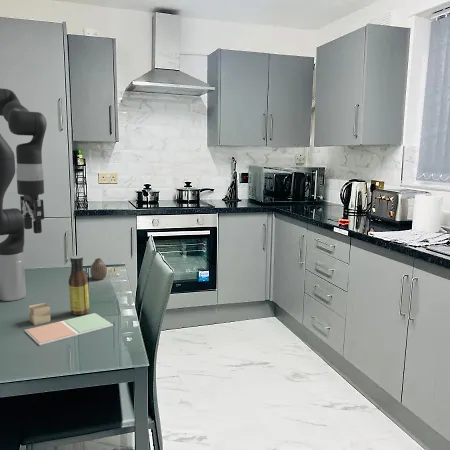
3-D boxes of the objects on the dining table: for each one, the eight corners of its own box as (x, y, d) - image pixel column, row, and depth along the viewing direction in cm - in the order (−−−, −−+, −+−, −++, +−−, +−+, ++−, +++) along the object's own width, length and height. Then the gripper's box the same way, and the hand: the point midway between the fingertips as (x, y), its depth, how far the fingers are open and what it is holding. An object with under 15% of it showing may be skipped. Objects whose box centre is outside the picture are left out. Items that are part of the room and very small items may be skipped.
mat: (24, 331, 137) (24, 329, 137) (95, 314, 152) (95, 312, 152) (39, 345, 128) (39, 343, 127) (113, 326, 143) (113, 324, 143)
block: (29, 320, 146) (28, 305, 145) (44, 317, 149) (44, 302, 148) (34, 325, 142) (34, 310, 141) (50, 321, 145) (49, 306, 144)
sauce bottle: (82, 307, 158) (81, 253, 154) (93, 312, 154) (91, 256, 150) (66, 312, 153) (63, 256, 149) (76, 317, 149) (74, 259, 145)
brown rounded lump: (90, 276, 195) (89, 257, 193) (106, 275, 197) (106, 256, 195) (90, 281, 188) (90, 261, 187) (107, 280, 190) (107, 260, 189)
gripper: (51, 180, 133) (53, 233, 136) (35, 176, 144) (37, 226, 147) (25, 180, 128) (27, 236, 131) (10, 177, 139) (13, 228, 142)
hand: (32, 230), depth 139 cm, fingers open, 8 cm apart
